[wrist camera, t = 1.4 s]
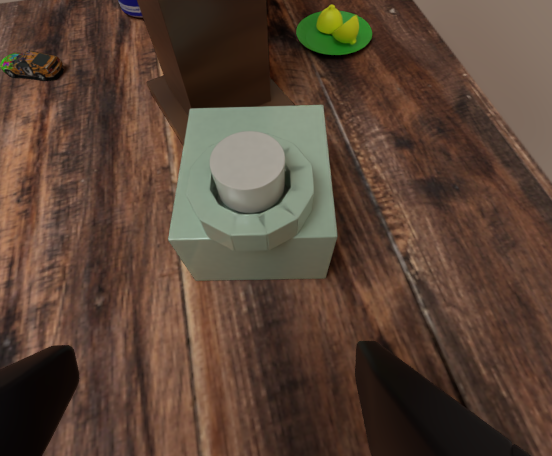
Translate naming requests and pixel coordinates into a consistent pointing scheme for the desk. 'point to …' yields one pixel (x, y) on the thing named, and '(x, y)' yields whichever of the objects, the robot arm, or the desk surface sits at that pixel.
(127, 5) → the beverage can
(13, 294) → the desk surface
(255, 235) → the green button box
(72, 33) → the desk surface
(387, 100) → the desk surface
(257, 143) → the grey push button
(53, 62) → the toy car
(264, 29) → the pedestal
